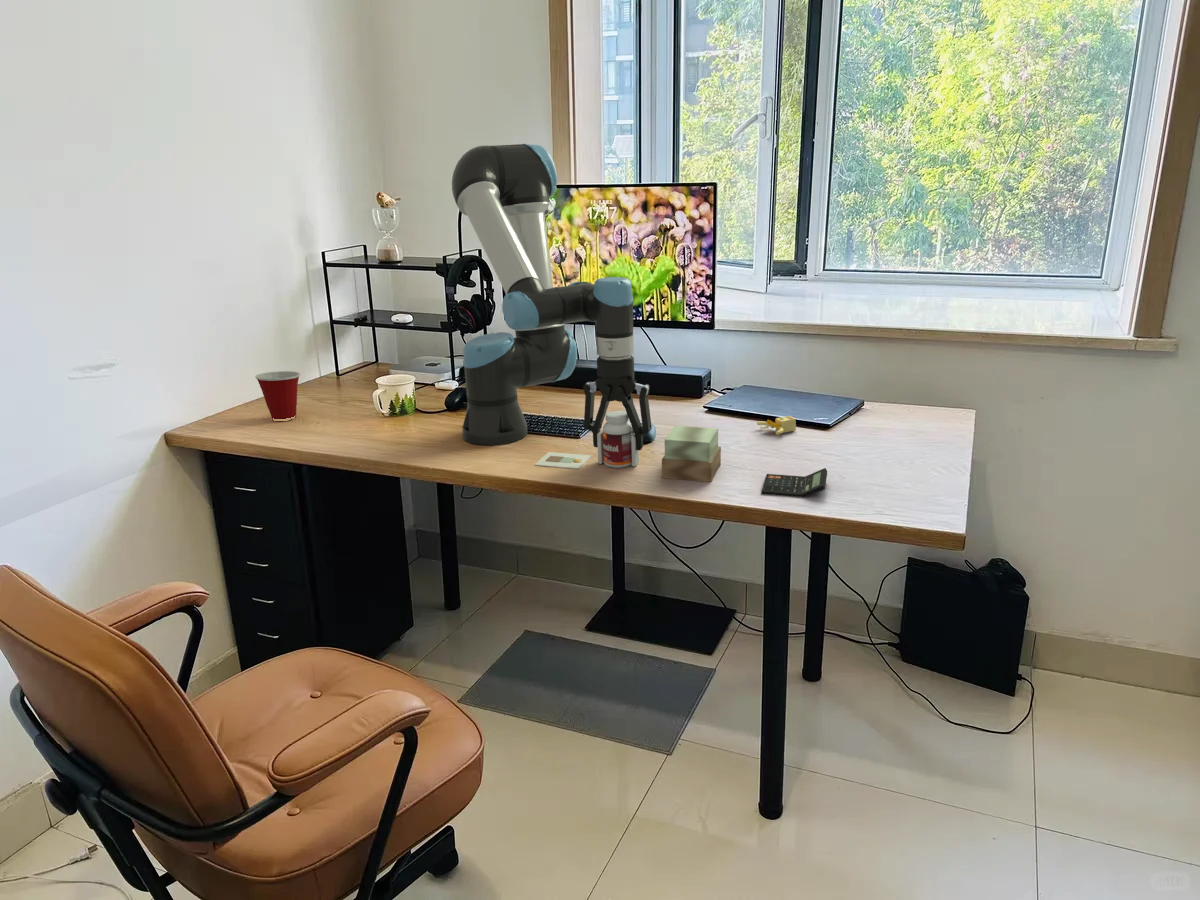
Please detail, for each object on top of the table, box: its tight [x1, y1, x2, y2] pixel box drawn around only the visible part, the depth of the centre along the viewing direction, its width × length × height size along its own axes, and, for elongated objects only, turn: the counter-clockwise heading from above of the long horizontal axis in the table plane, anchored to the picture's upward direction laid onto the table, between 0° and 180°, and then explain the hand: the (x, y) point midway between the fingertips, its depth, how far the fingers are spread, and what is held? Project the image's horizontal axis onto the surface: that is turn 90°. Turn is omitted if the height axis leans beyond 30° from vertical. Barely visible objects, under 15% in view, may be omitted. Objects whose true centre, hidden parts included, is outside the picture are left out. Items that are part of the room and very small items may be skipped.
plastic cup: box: [255, 370, 301, 419], centre depth 218 cm, size 11×11×12 cm
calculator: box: [760, 467, 828, 498], centre depth 164 cm, size 9×12×3 cm
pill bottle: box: [602, 410, 633, 469], centre depth 178 cm, size 6×6×11 cm
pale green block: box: [661, 425, 722, 483], centre depth 173 cm, size 10×10×8 cm
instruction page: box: [534, 451, 592, 470], centre depth 183 cm, size 10×8×1 cm
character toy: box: [756, 415, 797, 436], centre depth 195 cm, size 8×3×8 cm
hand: (618, 462), depth 180 cm, fingers open, 7 cm apart
